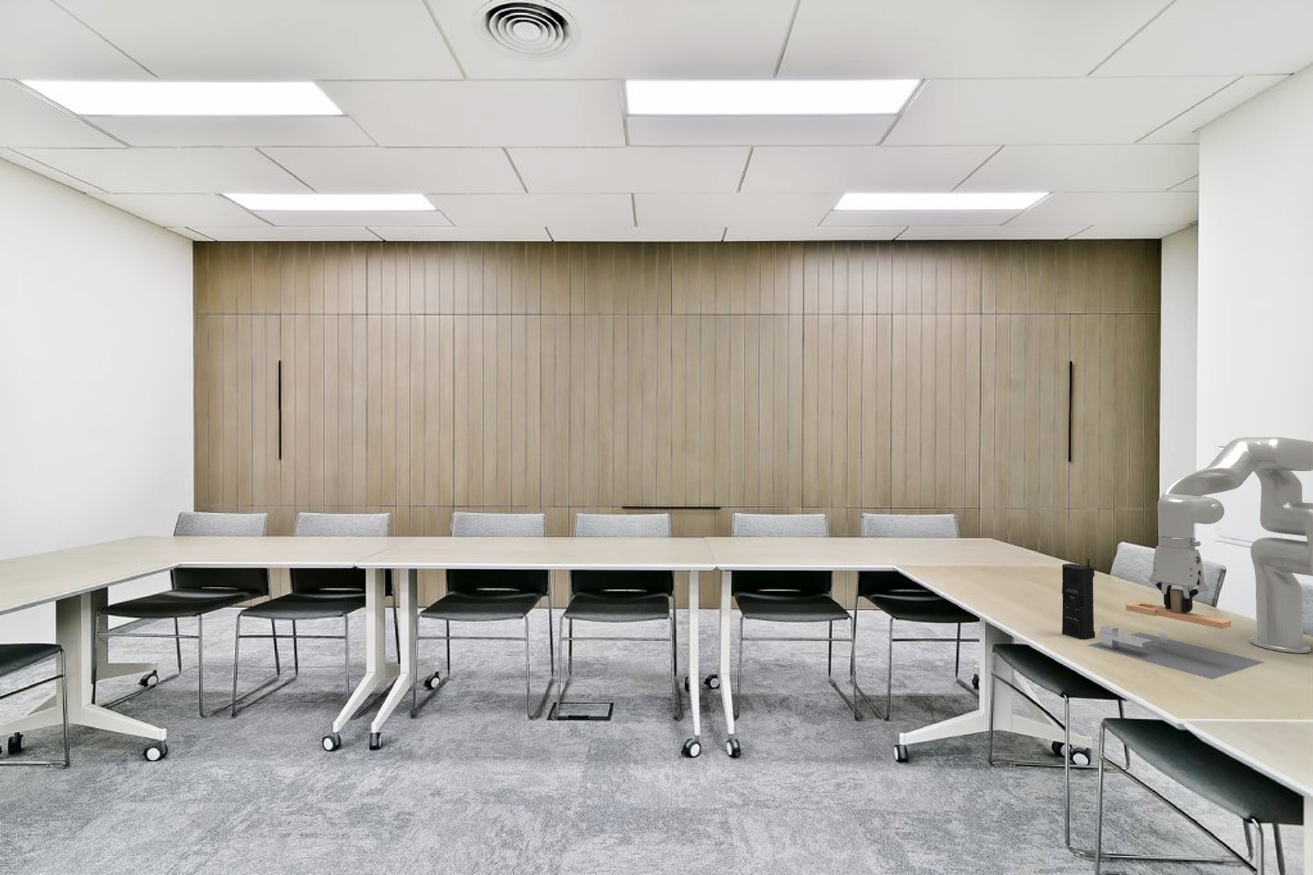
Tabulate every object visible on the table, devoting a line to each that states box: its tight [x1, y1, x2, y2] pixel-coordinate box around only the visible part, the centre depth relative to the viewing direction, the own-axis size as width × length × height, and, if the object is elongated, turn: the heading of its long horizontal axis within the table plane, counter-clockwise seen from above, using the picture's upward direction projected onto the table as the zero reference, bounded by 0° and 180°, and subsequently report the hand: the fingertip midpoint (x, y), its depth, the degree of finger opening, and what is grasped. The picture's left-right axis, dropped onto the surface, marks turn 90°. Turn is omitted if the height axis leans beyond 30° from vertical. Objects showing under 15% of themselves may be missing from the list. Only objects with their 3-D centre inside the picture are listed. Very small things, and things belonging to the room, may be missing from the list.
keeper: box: [1098, 624, 1153, 649], centre depth 173 cm, size 5×11×7 cm, turn 26°
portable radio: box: [1061, 558, 1096, 641], centre depth 187 cm, size 8×6×25 cm
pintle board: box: [1087, 629, 1264, 680], centre depth 171 cm, size 27×29×5 cm
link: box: [1125, 588, 1232, 630], centre depth 169 cm, size 22×7×8 cm, turn 26°
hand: (1178, 609), depth 169 cm, fingers closed on link, 3 cm apart
